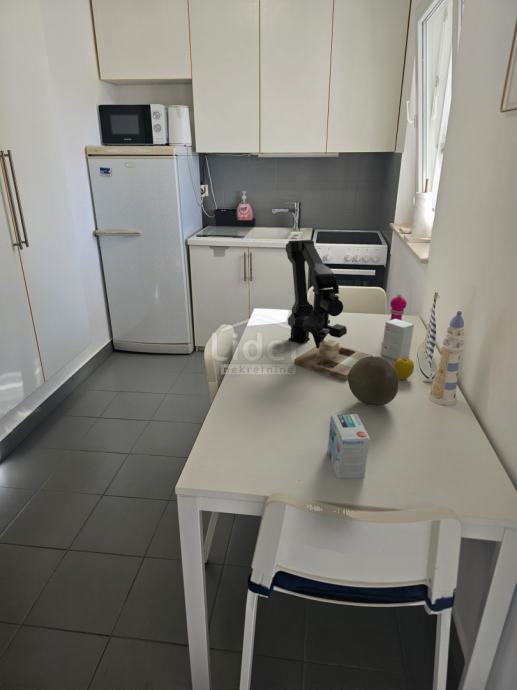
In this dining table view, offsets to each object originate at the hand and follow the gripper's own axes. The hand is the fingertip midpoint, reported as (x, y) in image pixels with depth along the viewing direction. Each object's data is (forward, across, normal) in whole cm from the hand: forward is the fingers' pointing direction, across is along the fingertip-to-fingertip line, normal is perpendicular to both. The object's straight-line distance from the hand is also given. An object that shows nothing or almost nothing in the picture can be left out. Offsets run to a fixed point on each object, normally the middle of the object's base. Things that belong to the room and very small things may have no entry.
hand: (318, 348), depth 164 cm
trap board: (+4, +7, 0) cm, 8 cm away
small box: (+4, +22, +20) cm, 30 cm away
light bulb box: (+4, +37, -50) cm, 62 cm away
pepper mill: (+4, +16, +33) cm, 37 cm away
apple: (+4, +31, +3) cm, 31 cm away
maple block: (+2, +4, 0) cm, 5 cm away
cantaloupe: (+4, +30, -20) cm, 36 cm away
